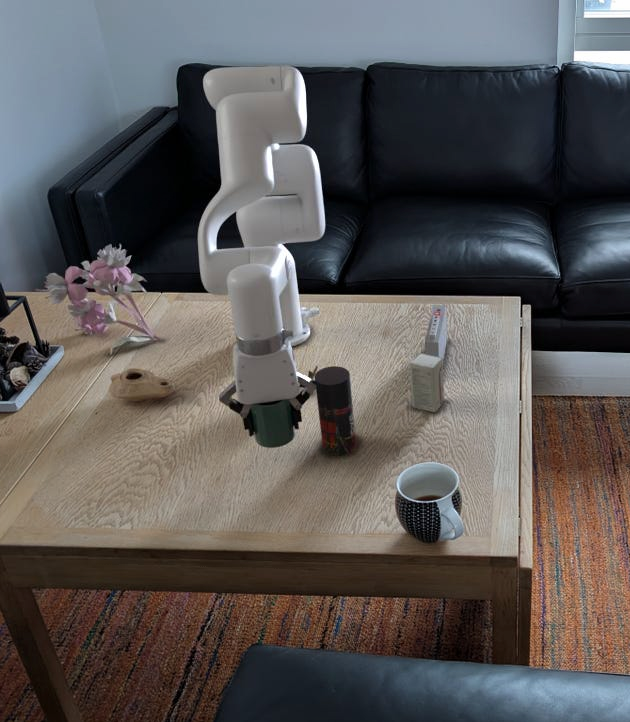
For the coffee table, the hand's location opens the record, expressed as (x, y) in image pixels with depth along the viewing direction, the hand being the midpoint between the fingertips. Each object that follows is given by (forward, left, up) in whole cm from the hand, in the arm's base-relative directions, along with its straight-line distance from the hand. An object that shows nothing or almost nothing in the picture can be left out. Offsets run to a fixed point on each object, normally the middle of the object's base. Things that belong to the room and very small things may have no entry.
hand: (274, 427), depth 144 cm
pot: (0, 0, -2) cm, 2 cm away
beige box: (-29, +9, -6) cm, 31 cm away
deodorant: (-9, +6, -6) cm, 12 cm away
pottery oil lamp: (+6, -34, -6) cm, 35 cm away
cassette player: (-42, -1, -6) cm, 43 cm away
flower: (-1, -61, -6) cm, 61 cm away
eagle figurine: (-15, -15, -6) cm, 22 cm away
